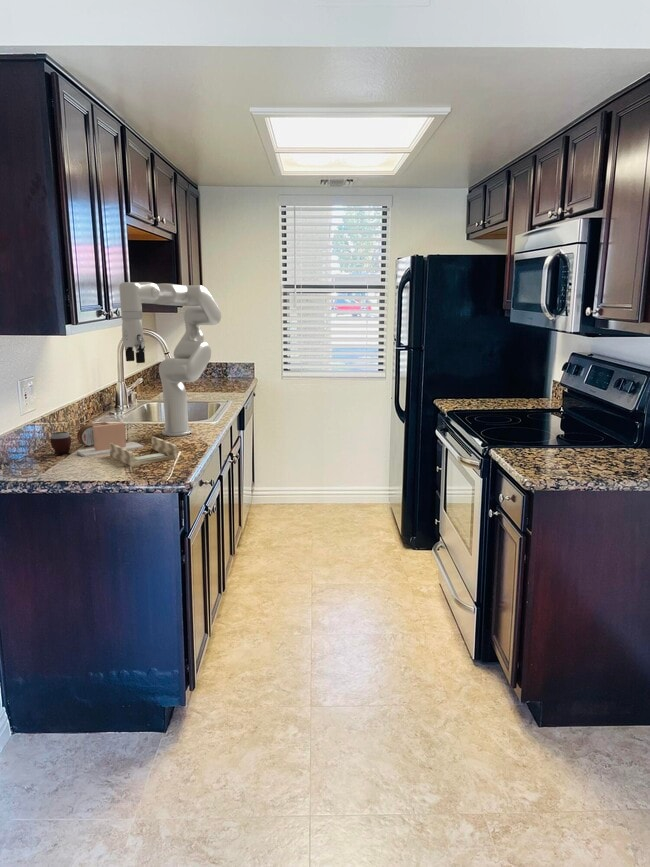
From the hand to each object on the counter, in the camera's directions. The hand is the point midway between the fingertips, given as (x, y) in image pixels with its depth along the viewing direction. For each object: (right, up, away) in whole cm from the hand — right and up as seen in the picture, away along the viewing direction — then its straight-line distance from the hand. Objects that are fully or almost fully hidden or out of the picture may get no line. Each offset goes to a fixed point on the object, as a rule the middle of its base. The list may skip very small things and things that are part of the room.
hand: (135, 361), depth 235 cm
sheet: (-9, -33, -3) cm, 34 cm away
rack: (+7, -36, -14) cm, 39 cm away
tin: (-17, -32, +8) cm, 37 cm away
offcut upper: (+10, -36, -18) cm, 42 cm away
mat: (-8, -34, -3) cm, 35 cm away
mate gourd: (-25, -35, -7) cm, 44 cm away
